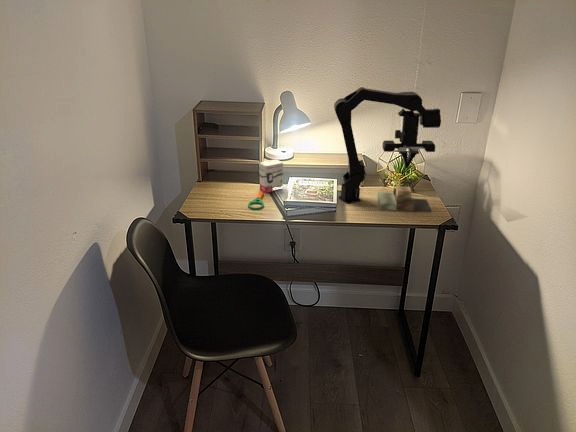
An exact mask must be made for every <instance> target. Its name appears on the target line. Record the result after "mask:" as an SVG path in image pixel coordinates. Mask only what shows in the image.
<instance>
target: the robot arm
mask: <svg viewBox="0 0 576 432" xmlns="http://www.w3.org/2000/svg"><path fill="white" fill-rule="evenodd" d="M363 101H368V102H369V101H370V102H374V103H382V104H387V105H388V104H390V105H394V106H398V107H400V108H402V109H401V110H400V111H398V112H397V114H398V116H399V117H403V119H402V129H401V130H400V129H396V130H394V139H398V140H399V143H398V142H395V141H394V140H384V141H383V142H382V147H381V148H382V150H383V152H385V153H386V152H387V153H388V152H389V153H390V152H391V153H393V152H394V151H395V150H397V151H398V154H400V155H401V156H402V158H403V164H404V167H405V169H409V166H410V165H411V163H412V162H413V160H414V158H415V157H416V155H419V154H420V152H419V151H420V150H421V149H424V151H425V152H426V153H434V152H436V145H435V143H434V141H432V140H422V141H421V143H419V142H418V135H419V126H422V128H423V129H426V128H427V129H428V128H429V129H433V128H437V129H438V128H440V127H441V124H442V117H441V109H440V108H433V109H432V108H430V109H429V108H425V107H424V106H423V99H422V97H421V96H420V95H419V94H418V93H416V92H415V91H402V92H392V91H385V90H384V91H383V90H379V89H373V88H366V87H362V86H360V87H358V88H357V89H356V90H354V91H353V92H351V93H349V94H348V95H346V96H344V97H343V98H339V99H337V100H336V101H335V102H334V104H333V105H334V106H333V107H334V112H335V114H336V117H337V119H338V122H339V124H340V126H341V130H342V136H343V139H344V145H345V148H346V149H345V150H346V153H347V158H348V159H347V161H348V162H347V172H346V173H344V174H343V175H342V179H343V183H342V184H341V191H340V195H338V198H339V200H341V201H343V202H344V203H346V204H350V203H351V204H352V203H355V202H356V203H357V202H360V201H361V199H360V192H361V187H360V184H361V183H362V182H364V181H365V179H366V177H365V176H366V175H367V172H366V169H365V163H364V160H363V159H361V160H360V159H359V157H358V152H357V146H356V142H355V137H354V133H353V132H354V130H353V127H352V111H353V110H355V109H356V108H357V107H358V106H359V105H360V104H361V103H362V102H363ZM407 150H408V151H407Z"/></svg>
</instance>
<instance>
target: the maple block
mask: <svg viewBox="0 0 576 432" xmlns="http://www.w3.org/2000/svg"><path fill="white" fill-rule="evenodd" d="M395 188H396V195H395V196H396V199H397V198H412V193H413V192H412V189H411V187H410V186H402V185H399V186H398V185H396V187H395Z"/></svg>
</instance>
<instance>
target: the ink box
mask: <svg viewBox="0 0 576 432" xmlns="http://www.w3.org/2000/svg"><path fill="white" fill-rule="evenodd" d="M258 164H259V165H258V166H259V167H258V168H259V171H258V172H259V190H260V192H264V194H269V193H271V191H272V188H274V187H281V186H284V184H283V183H284V182H283V181H284V179H283V178H284V177H283V176H284V162H283V161H280V160H279V159H278V158H277V159H270V160H265V161H264V160H263V161H261V162H259V163H258ZM272 192H273V191H272Z"/></svg>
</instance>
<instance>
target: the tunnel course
mask: <svg viewBox="0 0 576 432" xmlns="http://www.w3.org/2000/svg"><path fill="white" fill-rule="evenodd" d="M395 195H396V187H394V188H393V192H385V191H383V192H381V191H378V192H377V197H376V198H377V203H378V208H379V210H384V211H385V210H386V211H387V210H389V211H413V212H429V213H430V212H432V209H431V208H430V206H429V203H428V201H427V199H426V198H425V199H424V198H423V199H422V198H414V197H411V198H397V199H396V196H395Z"/></svg>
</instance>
